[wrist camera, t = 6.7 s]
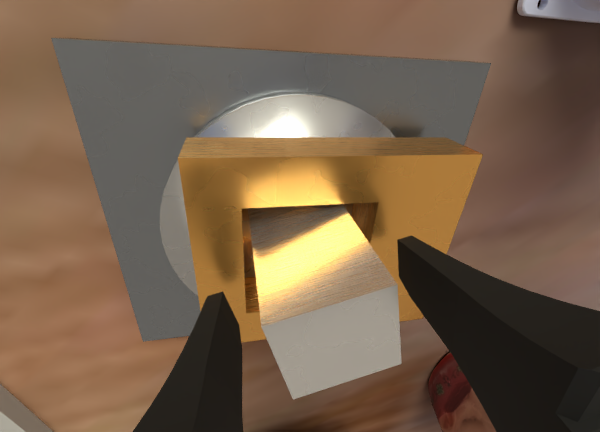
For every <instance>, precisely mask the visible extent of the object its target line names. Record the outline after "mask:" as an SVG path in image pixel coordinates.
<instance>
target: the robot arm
mask: <svg viewBox="0 0 600 432" xmlns="http://www.w3.org/2000/svg"><path fill="white" fill-rule="evenodd" d="M538 1H539V0H518V4H517V11H518V13H519V15H522V16H529V17H539V18H549V19H560V20H570V21H580V22H591V23H600V0H541V2H540V5H539V7H537V5H538ZM397 244H398V271H399V278H400V280H401V281H402V283H403V285H404V287H405V289H406V290H407V292H408V294H409V296H410V297H411V299H412V300H413V302H414V303H415V304H416V306H417V307H418V308H419V310H420V311H421V313H422V314H423V315H424V317H425V318H426V319H427V321H428V322H429V323H430V325H431V326H432V327H433V329H434V330H435V331H436V333H437V334H438V336H439V337H440V338H441V340H442V341H443V342H444V344H445V345H446V347H447V348H448V349H449V351H450V352H451V354H452V355H453V357H454V359H455V360H456V362H457V364H458V365H459V367H460V369H461V370H462V372H463V374H464V375H465V377H466V379H467V380H468V382H469V384H470V386H471V387H472V389H473V391H474V392H475V394H476V396H477V398H478V399H479V401H480V403H481V405H482V406H483V408H484V410H485V412H486V414H487V416H488V417H489V419H490V421H491V423H492V425H493V427H494V428H495V430H496V432H600V311H597V310H593V309H589V308H585V307H581V306H577V305H574V304H570V303H567V302H563V301H559V300H556V299H553V298H550V297H547V296H544V295H540V294H537V293H534V292H531V291H528V290H525V289H523V288H520V287H517V286H515V285H512V284H509V283H507V282H504V281H502V280H499V279H497V278H494V277H492V276H490V275H487V274H485V273H483V272H481V271H479V270H476V269H474V268H472V267H470V266H468V265H466V264H464V263H462V262H460V261H458V260H456V259H454V258H452V257H450V256H448V255H446V254H445V253H443V252H441V251H439V250H437V249H435V248H434V247H432V246H430V245H428V244H426V243H425V242H423V241H421V240H419V239H417V238H416V237H414V236H412V235H411V236H408V237H404V238H401V239H398V240H397ZM133 432H243V424H242V344H241V335H240V327H239V323H238V321H237V319H236V317H235V315H234V313H233V311H232V309H231V307H230V305H229V303H228V301H227V299H226V297H225V294H224V292H219V293H216V294H213V295H209V296H207V298H206V300H205V302H204V305H203V307H202V309H201V312H200V314H199V316H198V319H197V321H196V323H195V325H194V328H193V330H192V332H191V334H190V336H189V338H188V340H187V343H186V345H185V347H184V349H183V351H182V353H181V354H180V356H179V358H178V360H177V362H176V364H175V366H174V368H173V370H172V371H171V373H170V375H169V377H168V378H167V380H166V382H165V383H164V385H163V387H162V388H161V390H160V392H159V393H158V395H157V396H156V398H155V400H154V401H153V403H152V404H151V406H150V407H149V409H148V410H147V412H146V413H145V415H144V416H143V418H142V419H141V420H140V422H139V423H138V425H137V426H136V428H135V429H134V430H133Z"/></svg>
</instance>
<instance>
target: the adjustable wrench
mask: <svg viewBox="0 0 600 432" xmlns="http://www.w3.org/2000/svg"><path fill="white" fill-rule="evenodd" d="M0 432H53V431H52V430H51V429H50V428H49V427H48V426H47V425H45V424H44V423H43V422H42V421H41V420H40V419H39V418H38V417H37V416H35V415H34V414H33V413H32V412H31V411H30V410H29V409H28V408H27V407H25V406H24V405H23V404H22V403H21V402H20V401H19V400H18V399H17V398H15V397H14V396H13V395H12V394H11V393H10V392H9V391H8V390H7V389H5V388H4V387H3V386H2V385H1V384H0Z"/></svg>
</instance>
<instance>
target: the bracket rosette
mask: <svg viewBox="0 0 600 432" xmlns="http://www.w3.org/2000/svg"><path fill="white" fill-rule="evenodd" d="M51 39H52V42H53V45H54V49H55V52H56V55H57V59H58V62H59V65H60V69H61V72H62V75H63V78H64V82H65V85H66V88H67V92H68V95H69V98H70V102H71V105H72V108H73V112H74V115H75V118H76V121H77V125H78V128H79V131H80V135H81V138H82V141H83V145H84V148H85V151H86V155H87V158H88V161H89V164H90V168H91V171H92V174H93V178H94V181H95V184H96V188H97V191H98V194H99V198H100V201H101V204H102V207H103V211H104V214H105V217H106V221H107V224H108V227H109V231H110V234H111V237H112V240H113V244H114V247H115V250H116V254H117V257H118V260H119V264H120V267H121V270H122V274H123V277H124V280H125V283H126V287H127V290H128V293H129V297H130V300H131V303H132V307H133V310H134V313H135V317H136V320H137V323H138V326H139V330H140V333H141V336H142V340H143V341H151V340H159V339H167V338H175V337H183V336H190V334H191V332H192V330H193V328H194V325H195V323H196V321H197V319H198V316H199V314H200V312H201V309H202V307H203V305H204V302H205V300H206V298H207V296H209V295H213V294H216V293H219V292H224V294H225V297H226V299H227V301H228V303H229V305H230V307H231V309H232V311H233V313H234V315H235V317H236V319H237V321H238V323H239V327H240V335H241V342H249V341H256V340H264V339H267V338H266V336H265V334H264V332H263V329H262V327H261V318H260V309H259V301H258V292H257V283H256V274H255V266H254V257H253V248H252V239H251V231H250V222H249V213H248V208H263V207H285V206H307V205H329V204H343V206H344V207H345V208H346V210H347V211H348V213H349V214H350V216H351V217H352V219H353V220H354V222H355V223H356V225H357V226H358V227H359V229H360V230H361V232H362V233H363V235H364V236H365V238H366V239H367V241H368V242H369V244H370V245H371V246H372V248H373V249H374V251H375V252H376V254H377V255H378V257H379V258H380V260H381V261H382V263H383V264H384V265H385V267H386V268H387V270H388V271H389V273H390V274H391V276H392V277H393V279H394V280H395V282H396V283H397V284H398V304H399V322H400V321H407V320H415V319H422V318H423V317H424V315H423V314H422V313H421V311H420V310H419V308H418V307H417V306H416V304H415V303H414V302H413V300H412V299H411V297H410V296H409V294H408V292H407V290H406V289H405V287H404V285H403V283H402V281H401V280H400V278H399V271H398V244H397V240H398V239H401V238H404V237H408V236H411V235H412V236H414V237H416V238H417V239H419V240H421V241H423V242H425V243H426V244H428V245H430V246H432V247H434V248H435V249H437V250H439V251H441V252H443V253H445V254H447V251H448V249H449V246H450V243H451V240H452V238H453V235H454V232H455V229H456V227H457V224H458V221H459V219H460V216H461V213H462V210H463V208H464V205H465V202H466V199H467V197H468V194H469V191H470V189H471V186H472V183H473V180H474V178H475V175H476V172H477V169H478V167H479V164H480V161H481V159H482V156H483V154H481V153H479V152H477V151H474V150H472V149H470V148H468V147H466V146H464V144H465V141H466V138H467V135H468V132H469V129H470V126H471V123H472V120H473V117H474V114H475V111H476V108H477V104H478V101H479V98H480V95H481V92H482V89H483V86H484V83H485V80H486V77H487V74H488V71H489V68H490V65H491V63H482V62H468V61H451V60H434V59H417V58H400V57H382V56H365V55H348V54H331V53H313V52H296V51H279V50H262V49H245V48H227V47H210V46H193V45H176V44H158V43H141V42H124V41H107V40H89V39H72V38H51Z"/></svg>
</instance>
